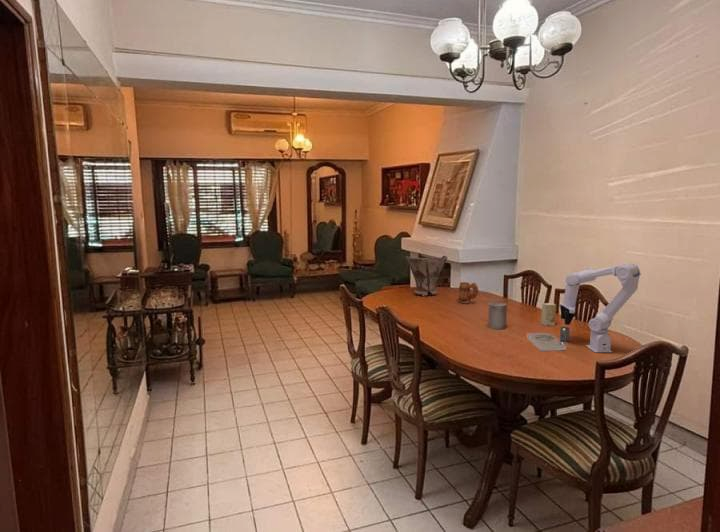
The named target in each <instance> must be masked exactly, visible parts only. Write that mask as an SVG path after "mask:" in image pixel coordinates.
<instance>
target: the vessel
mask: <svg viewBox="0 0 720 532" xmlns="http://www.w3.org/2000/svg"><path fill="white" fill-rule="evenodd" d="M405 260H406V261H407V263H408V265H409V267H410V271H411V273H412V275H413V278H414V281H415V282H414V283H415V289H414V291H413V294H414V295H416V294H417V296H420V295H424V296H425V297H427V296H429V295H430V296H431V295H433V296H437V295H438V291H437V290H436V284H437V282H438V279H439V276H440V274H441V272H442V270H443V268H444V266H445V264H446V262H447V260H448V256H447V255H442V257H413V256H412V257H411V256H405ZM428 294H429V295H428ZM436 294H437V295H436Z"/></svg>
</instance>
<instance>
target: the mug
mask: <svg viewBox="0 0 720 532" xmlns="http://www.w3.org/2000/svg"><path fill="white" fill-rule="evenodd" d="M458 290H459V296H458V301H459V303H460V304H463V303H465V304H470V303H471V300H473V299H476V298H477V296H478V293H479V287H478V285H477V284H476V282H471V283H469V282H465V281H464V282H463V281H462V282H460V283H459V287H458ZM471 290H472V292H471Z"/></svg>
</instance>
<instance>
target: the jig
mask: <svg viewBox="0 0 720 532" xmlns="http://www.w3.org/2000/svg"><path fill="white" fill-rule="evenodd" d="M526 338H527V340H528V341H529V342H530V343H531V344H533V346H535V347H536V348H537V349H538V350H539V351H540V352H541V351H542V352H544V351H545V352H546V351H552V352H553V351H559V352H560V351H561V350H566V351H567V345H566V343H564V342H561V341H560V338H559V339H558V338H557V337H556V336H555V335H554V334H552V333H551V332H528V333H526Z"/></svg>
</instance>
